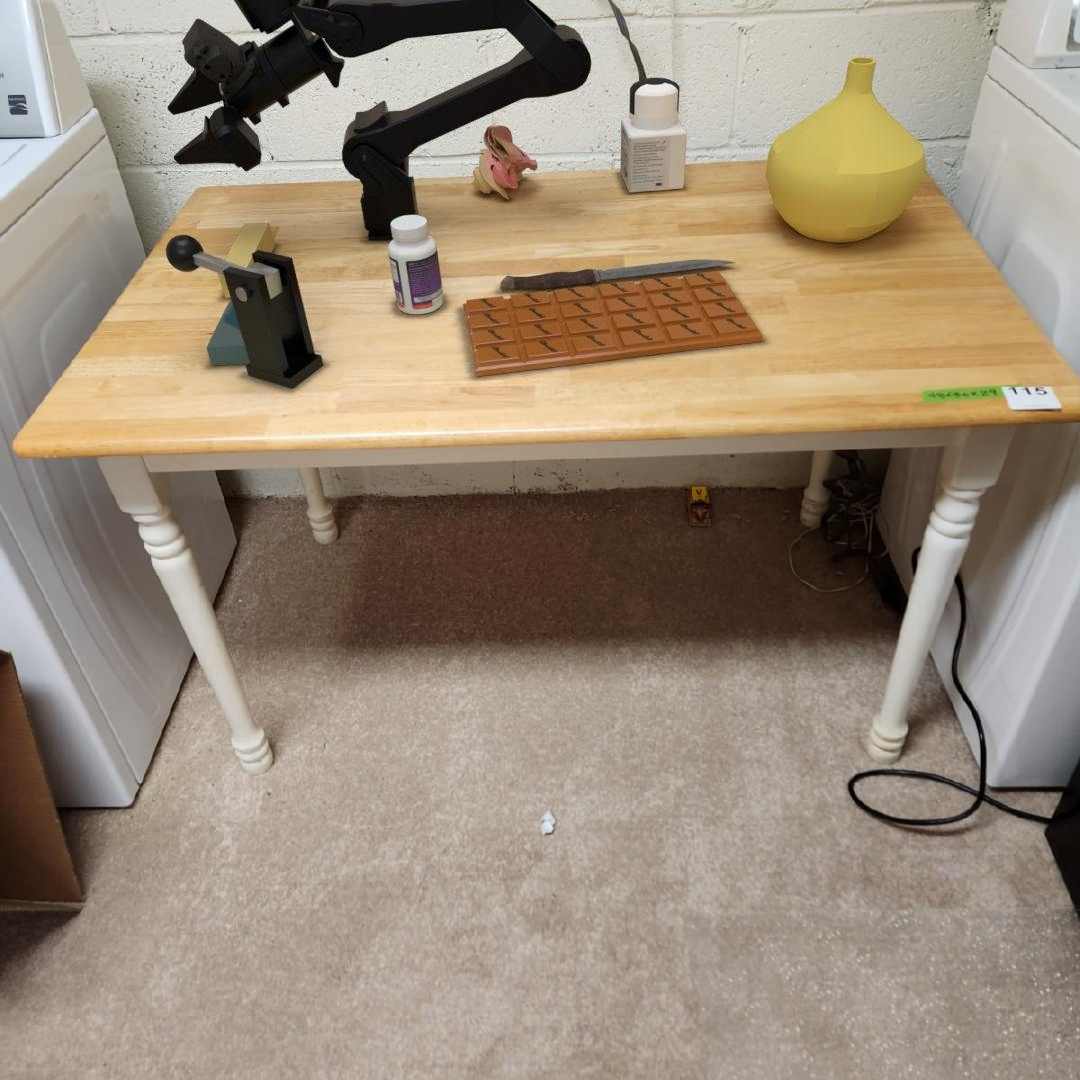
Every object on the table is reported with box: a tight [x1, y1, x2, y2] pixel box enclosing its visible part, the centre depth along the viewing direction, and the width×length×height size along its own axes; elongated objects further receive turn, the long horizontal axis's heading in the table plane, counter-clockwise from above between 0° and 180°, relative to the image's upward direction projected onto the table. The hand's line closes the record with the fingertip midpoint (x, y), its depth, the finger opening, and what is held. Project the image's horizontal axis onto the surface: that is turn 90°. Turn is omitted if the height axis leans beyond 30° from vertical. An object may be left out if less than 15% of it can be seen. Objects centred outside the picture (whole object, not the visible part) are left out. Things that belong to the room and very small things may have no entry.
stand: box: [223, 250, 324, 389], centre depth 92 cm, size 6×6×12 cm
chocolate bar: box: [462, 270, 763, 377], centre depth 100 cm, size 14×30×1 cm, turn 99°
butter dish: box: [206, 298, 250, 367], centre depth 102 cm, size 5×14×2 cm, turn 1°
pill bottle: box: [387, 214, 445, 315], centre depth 102 cm, size 5×5×10 cm
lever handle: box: [165, 234, 282, 299], centre depth 91 cm, size 13×4×4 cm, turn 61°
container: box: [620, 77, 688, 194], centre depth 125 cm, size 8×8×13 cm
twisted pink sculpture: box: [471, 124, 539, 200], centre depth 128 cm, size 9×10×10 cm
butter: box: [217, 221, 276, 299], centre depth 113 cm, size 14×3×3 cm, turn 1°
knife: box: [499, 259, 737, 292], centre depth 108 cm, size 28×3×1 cm, turn 99°
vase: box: [765, 56, 927, 243], centre depth 109 cm, size 18×18×19 cm
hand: (173, 135), depth 111 cm, fingers open, 9 cm apart
